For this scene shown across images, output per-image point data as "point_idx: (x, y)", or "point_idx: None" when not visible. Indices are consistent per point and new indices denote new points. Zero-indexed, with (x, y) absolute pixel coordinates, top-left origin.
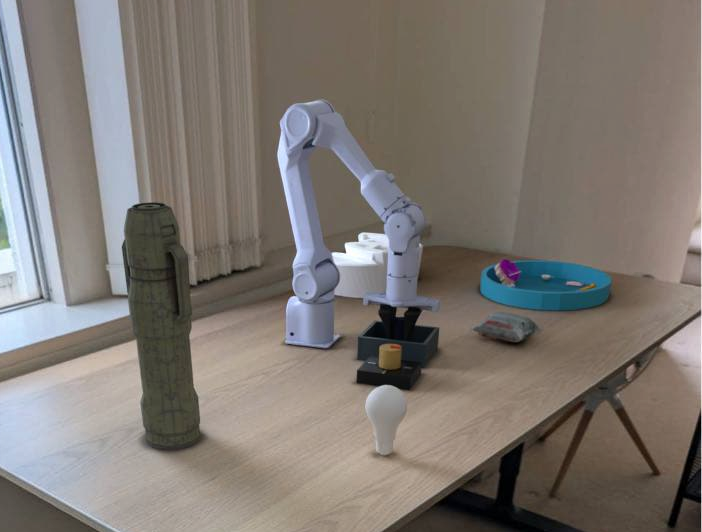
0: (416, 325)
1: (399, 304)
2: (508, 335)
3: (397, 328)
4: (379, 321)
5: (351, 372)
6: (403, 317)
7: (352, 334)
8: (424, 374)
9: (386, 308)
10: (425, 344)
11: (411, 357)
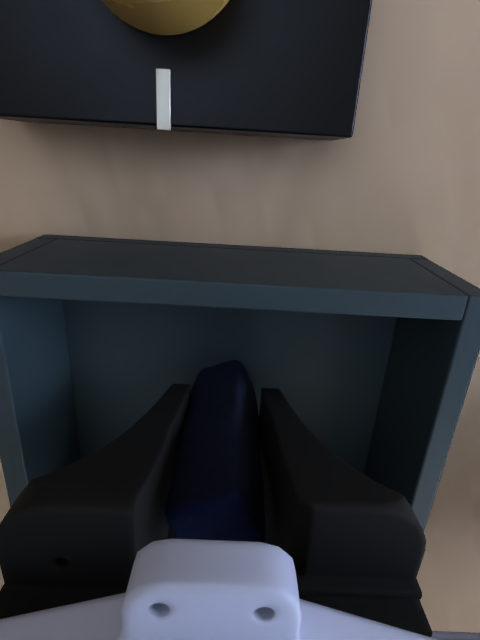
0: None
1: (144, 572)
2: None
3: (226, 450)
4: None
5: (435, 29)
6: None
7: (473, 547)
8: (6, 138)
9: (349, 592)
10: None
11: (102, 250)
